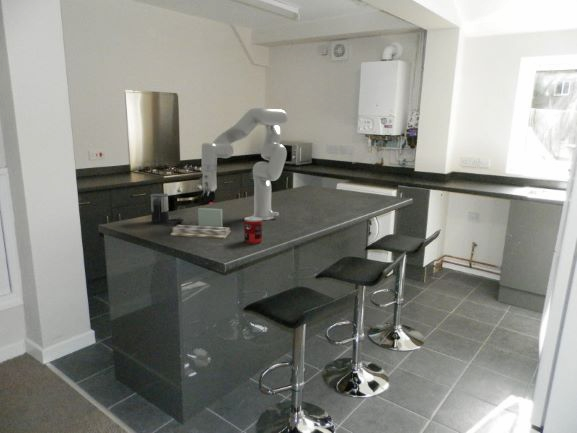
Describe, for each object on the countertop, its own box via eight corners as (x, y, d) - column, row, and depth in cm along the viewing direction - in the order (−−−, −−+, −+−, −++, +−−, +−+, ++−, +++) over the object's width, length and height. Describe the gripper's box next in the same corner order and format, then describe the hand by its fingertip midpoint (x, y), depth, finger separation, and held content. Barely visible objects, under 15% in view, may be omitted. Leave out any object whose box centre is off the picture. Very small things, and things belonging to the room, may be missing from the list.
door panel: (222, 226, 217) (222, 209, 215) (221, 227, 214) (220, 210, 212) (200, 224, 218) (199, 208, 216) (198, 226, 215) (197, 209, 213)
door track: (230, 231, 206) (230, 226, 205) (224, 238, 194) (224, 232, 194) (179, 229, 208) (179, 223, 208) (170, 235, 197) (170, 229, 196)
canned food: (244, 239, 193) (244, 216, 191) (261, 239, 194) (261, 216, 191) (244, 244, 186) (244, 220, 183) (262, 244, 186) (262, 220, 184)
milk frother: (150, 220, 224) (149, 193, 220) (180, 218, 230) (179, 192, 226) (153, 227, 211) (151, 198, 208) (185, 224, 217) (184, 196, 214)
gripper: (211, 170, 200) (211, 205, 204) (221, 166, 217) (220, 199, 221) (196, 169, 201) (196, 204, 205) (207, 166, 218) (206, 198, 221)
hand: (208, 201), depth 213 cm, fingers open, 9 cm apart
